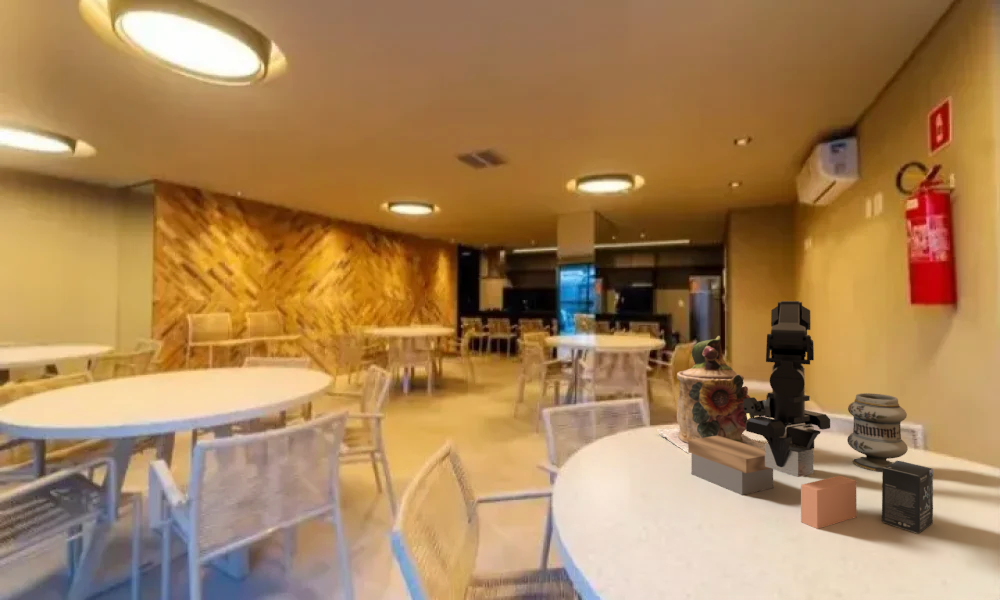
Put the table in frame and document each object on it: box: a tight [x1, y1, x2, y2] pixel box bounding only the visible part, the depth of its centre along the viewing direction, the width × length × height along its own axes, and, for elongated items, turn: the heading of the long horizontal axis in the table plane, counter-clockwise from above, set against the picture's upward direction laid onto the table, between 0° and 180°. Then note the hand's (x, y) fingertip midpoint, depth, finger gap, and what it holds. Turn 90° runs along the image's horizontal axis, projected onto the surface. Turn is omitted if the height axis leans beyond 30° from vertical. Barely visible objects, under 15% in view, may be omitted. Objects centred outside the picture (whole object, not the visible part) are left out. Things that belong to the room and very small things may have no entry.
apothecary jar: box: [846, 392, 909, 472], centre depth 122 cm, size 12×12×18 cm
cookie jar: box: [657, 335, 765, 456], centre depth 141 cm, size 25×25×32 cm
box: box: [881, 460, 934, 534], centre depth 90 cm, size 8×6×11 cm
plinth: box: [691, 454, 774, 496], centre depth 111 cm, size 10×14×5 cm
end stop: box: [800, 475, 857, 530], centre depth 91 cm, size 12×3×7 cm, turn 114°
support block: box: [764, 442, 814, 478], centre depth 98 cm, size 5×7×5 cm
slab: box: [688, 436, 770, 473], centre depth 111 cm, size 10×16×3 cm, turn 24°
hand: (788, 464), depth 98 cm, fingers closed on support block, 5 cm apart
